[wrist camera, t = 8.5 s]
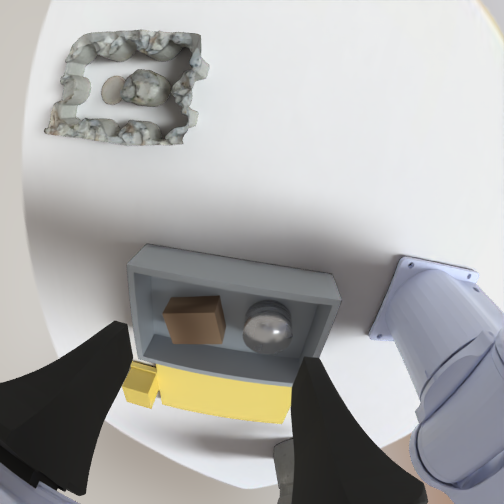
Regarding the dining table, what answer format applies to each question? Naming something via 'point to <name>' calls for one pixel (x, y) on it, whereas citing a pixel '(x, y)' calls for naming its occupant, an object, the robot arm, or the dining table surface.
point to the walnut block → (195, 320)
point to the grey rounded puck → (267, 327)
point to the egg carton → (127, 86)
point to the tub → (228, 312)
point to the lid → (207, 394)
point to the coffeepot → (284, 469)
